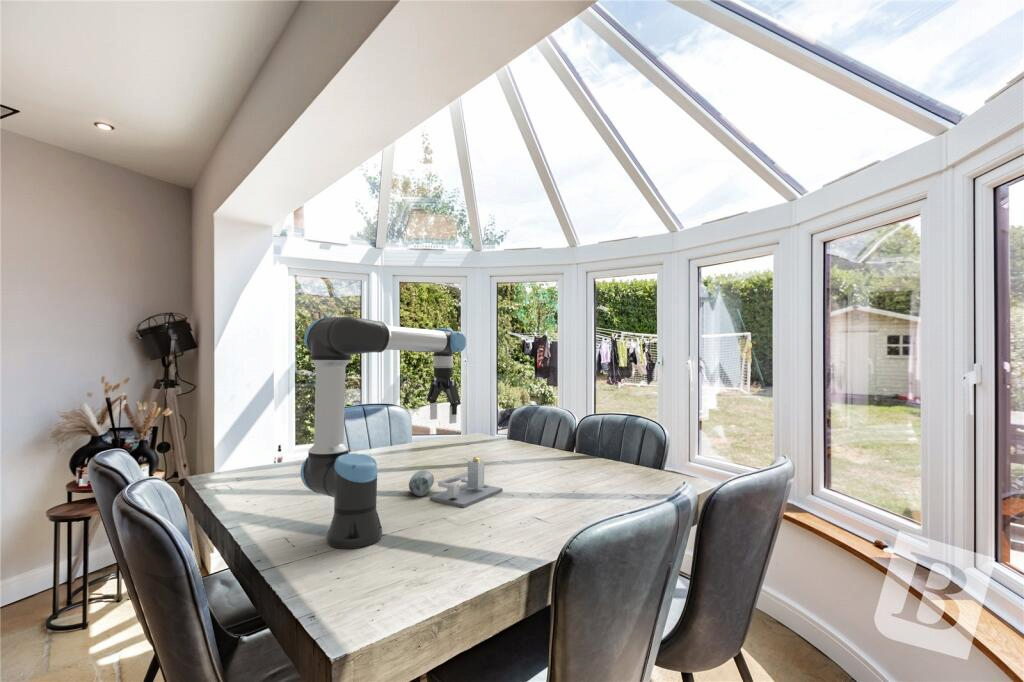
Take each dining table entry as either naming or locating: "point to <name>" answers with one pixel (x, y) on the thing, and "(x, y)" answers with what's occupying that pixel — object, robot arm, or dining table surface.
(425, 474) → the grey rounded oval lump
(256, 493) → the dining table surface
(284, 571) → the dining table surface
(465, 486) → the flange plate
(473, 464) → the post
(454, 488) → the dividers frame
